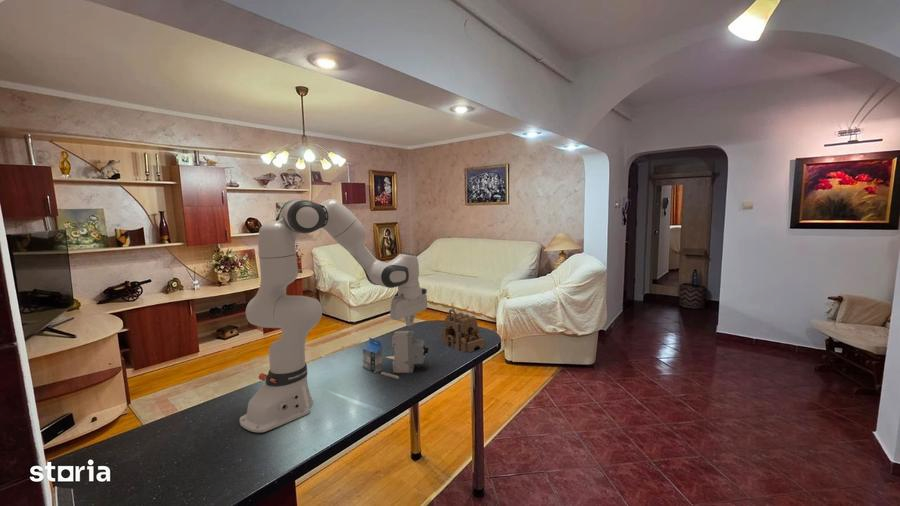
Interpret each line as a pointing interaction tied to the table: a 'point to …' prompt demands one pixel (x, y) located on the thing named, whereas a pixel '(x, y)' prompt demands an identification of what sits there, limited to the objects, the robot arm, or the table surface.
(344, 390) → the table surface
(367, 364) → the label tape box
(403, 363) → the circuit breaker
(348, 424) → the table surface
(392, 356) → the cork pad
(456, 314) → the wooden puzzle
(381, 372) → the peg
